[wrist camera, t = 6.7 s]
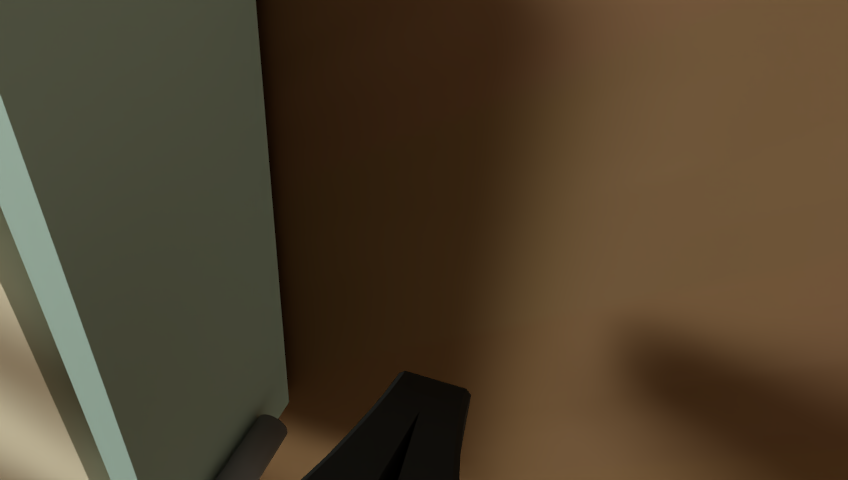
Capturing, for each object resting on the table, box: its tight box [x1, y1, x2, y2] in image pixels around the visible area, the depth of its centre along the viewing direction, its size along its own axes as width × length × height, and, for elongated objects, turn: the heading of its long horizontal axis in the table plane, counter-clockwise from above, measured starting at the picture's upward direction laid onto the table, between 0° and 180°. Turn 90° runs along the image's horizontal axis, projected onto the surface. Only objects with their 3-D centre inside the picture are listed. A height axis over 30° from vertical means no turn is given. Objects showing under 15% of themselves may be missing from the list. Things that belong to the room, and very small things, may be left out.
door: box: [0, 0, 289, 480], centre depth 13 cm, size 16×2×6 cm, turn 175°
